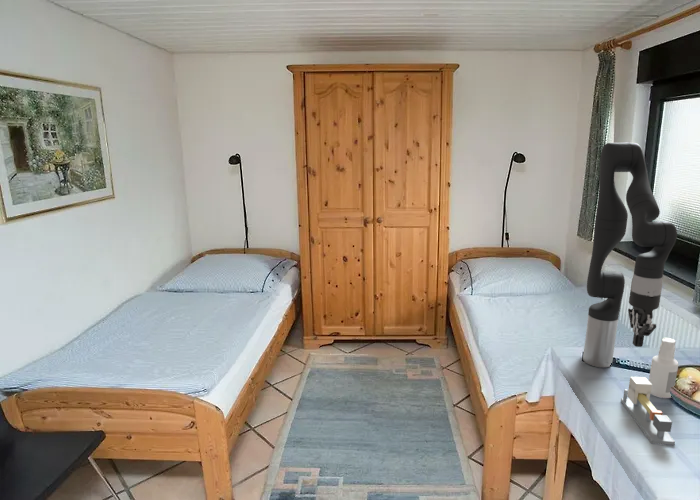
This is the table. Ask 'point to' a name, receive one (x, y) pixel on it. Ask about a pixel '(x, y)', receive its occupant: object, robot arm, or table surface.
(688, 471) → the table surface
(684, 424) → the table surface
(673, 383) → the white bottle
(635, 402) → the sleeve
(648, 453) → the table surface
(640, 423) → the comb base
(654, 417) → the yellow bar
